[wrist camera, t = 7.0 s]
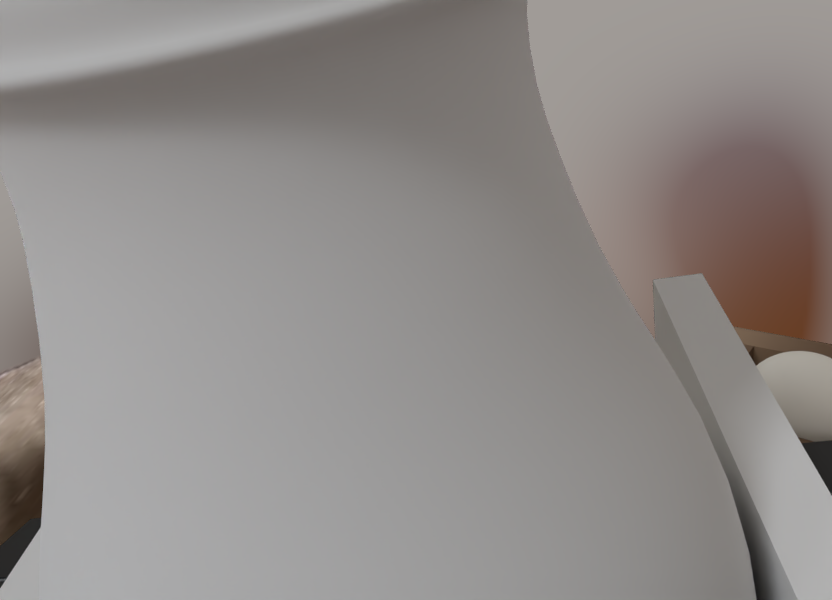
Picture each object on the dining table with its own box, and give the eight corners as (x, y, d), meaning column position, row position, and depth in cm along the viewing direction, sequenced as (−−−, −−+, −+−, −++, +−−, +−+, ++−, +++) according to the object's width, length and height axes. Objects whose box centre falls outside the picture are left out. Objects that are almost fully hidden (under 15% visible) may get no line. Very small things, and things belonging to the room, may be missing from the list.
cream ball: (720, 472, 20) (719, 379, 18) (757, 408, 22) (759, 320, 20) (847, 511, 18) (857, 410, 17) (876, 437, 20) (887, 342, 18)
